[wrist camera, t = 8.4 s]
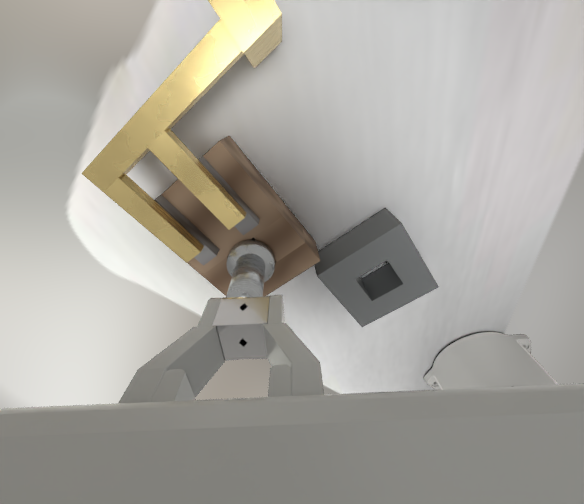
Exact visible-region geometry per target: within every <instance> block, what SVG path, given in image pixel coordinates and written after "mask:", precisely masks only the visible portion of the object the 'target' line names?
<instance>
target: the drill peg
mask: <svg viewBox="0 0 584 504" xmlns="http://www.w3.org/2000/svg"><path fill="white" fill-rule="evenodd" d="M274 269H275V257H274V254H273V252H272V250H271V249H270V248H269V247H268V246H267V245H266V244H264V243H262V242H260V241H257V240H256V239H255V238H254V237H253V238H252V239H251V240H245V241H241V242H239V243H237V244H236V245H235V246H234V247H233V248H232V249H231V251H230V253H229V256H228V258H227V270H228V272H229V274H230V275H231V277H232V278H231V282H230V285H229V289H228V292H227V295H226V298H232V297H262V296H263V287H264V282H266V281H267V280H269V279H270V278H271V276H272V275H273V273H274Z"/></svg>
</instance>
